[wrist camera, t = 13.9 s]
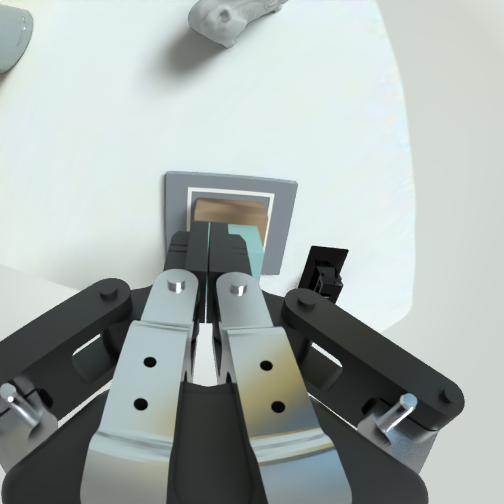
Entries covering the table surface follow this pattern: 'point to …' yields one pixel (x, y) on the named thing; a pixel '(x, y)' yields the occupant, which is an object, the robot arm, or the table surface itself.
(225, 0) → the dog figurine
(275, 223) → the board
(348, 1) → the table surface
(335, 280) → the black stepped block
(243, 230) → the teal cube
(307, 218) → the table surface
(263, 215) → the walnut block
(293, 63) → the table surface
